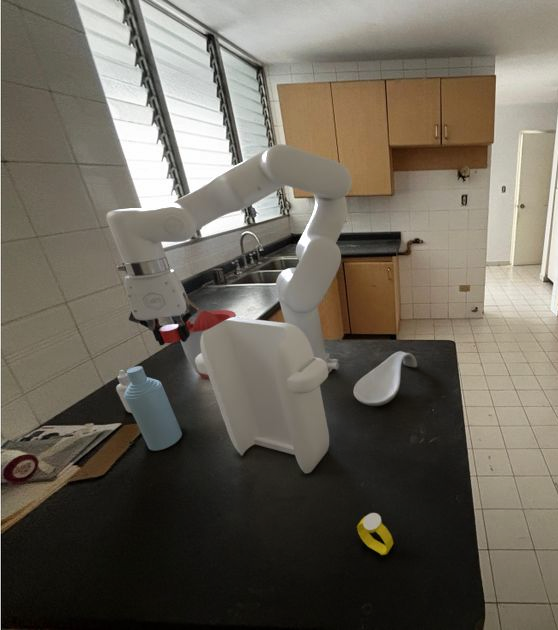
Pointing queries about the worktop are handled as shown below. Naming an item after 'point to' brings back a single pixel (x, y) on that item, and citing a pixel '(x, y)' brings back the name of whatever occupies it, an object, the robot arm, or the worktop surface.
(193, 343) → the citrus juicer
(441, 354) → the worktop surface
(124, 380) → the eye dropper bottle
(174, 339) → the cap
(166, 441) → the water bottle
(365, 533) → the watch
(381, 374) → the spoon rest
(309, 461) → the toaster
